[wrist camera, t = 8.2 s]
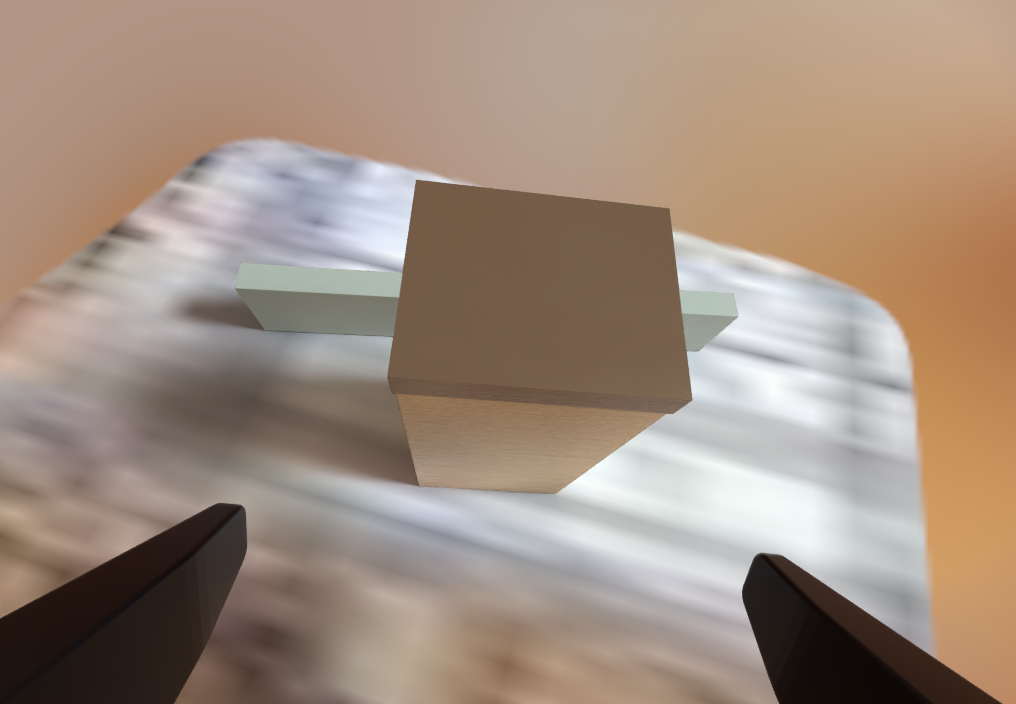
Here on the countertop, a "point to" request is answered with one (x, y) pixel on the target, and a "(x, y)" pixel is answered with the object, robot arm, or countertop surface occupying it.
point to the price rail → (374, 301)
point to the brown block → (532, 335)
